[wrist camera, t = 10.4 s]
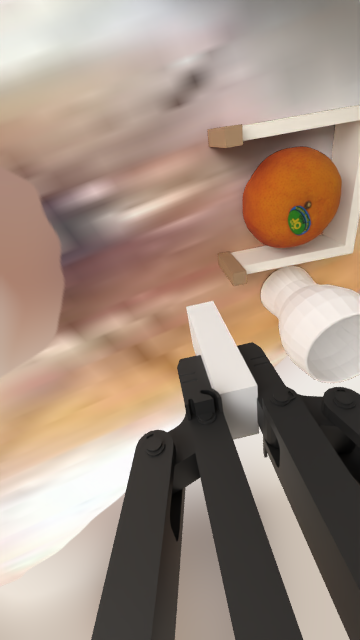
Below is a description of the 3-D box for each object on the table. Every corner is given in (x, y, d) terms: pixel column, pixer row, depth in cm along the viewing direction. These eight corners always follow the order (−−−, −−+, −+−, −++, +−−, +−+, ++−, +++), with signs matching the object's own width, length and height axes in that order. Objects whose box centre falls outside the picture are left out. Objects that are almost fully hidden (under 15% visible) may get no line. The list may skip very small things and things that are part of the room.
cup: (322, 249, 42) (407, 297, 29) (315, 312, 47) (383, 375, 35) (250, 264, 41) (303, 319, 28) (251, 326, 47) (296, 395, 34)
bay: (218, 264, 40) (233, 286, 35) (207, 129, 32) (224, 127, 26) (329, 242, 41) (363, 259, 35) (347, 104, 33) (395, 97, 27)
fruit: (276, 124, 33) (314, 120, 26) (331, 182, 37) (376, 192, 30) (216, 207, 37) (236, 222, 30) (273, 251, 41) (301, 274, 34)
